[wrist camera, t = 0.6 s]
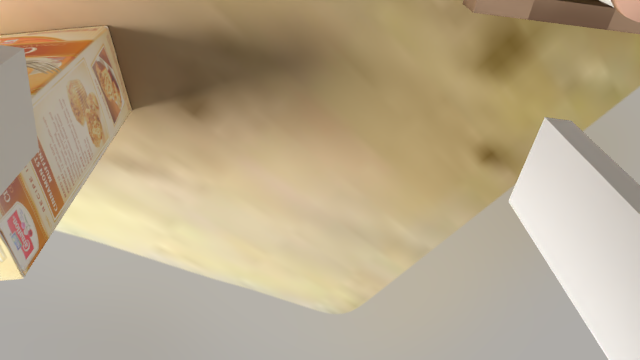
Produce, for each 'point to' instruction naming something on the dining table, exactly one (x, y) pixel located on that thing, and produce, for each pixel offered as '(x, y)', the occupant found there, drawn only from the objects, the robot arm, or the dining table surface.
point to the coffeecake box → (60, 134)
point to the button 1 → (626, 8)
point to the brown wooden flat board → (559, 12)
